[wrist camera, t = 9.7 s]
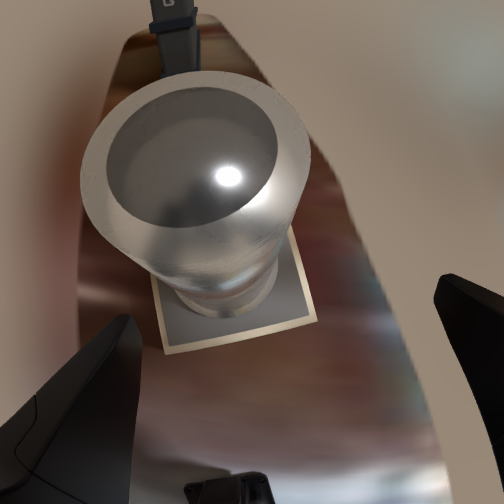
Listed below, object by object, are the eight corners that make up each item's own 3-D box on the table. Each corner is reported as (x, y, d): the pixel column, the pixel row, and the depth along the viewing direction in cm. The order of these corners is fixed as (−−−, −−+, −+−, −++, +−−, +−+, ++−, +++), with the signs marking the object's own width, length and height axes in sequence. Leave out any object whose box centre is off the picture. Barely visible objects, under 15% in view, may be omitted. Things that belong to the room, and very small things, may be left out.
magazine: (162, 112, 24) (140, -36, 13) (176, 78, 33) (163, -23, 22) (202, 105, 24) (186, -45, 13) (204, 74, 33) (195, -28, 22)
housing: (288, 304, 18) (366, 243, 6) (182, 328, 18) (70, 309, 6) (262, 206, 20) (281, 52, 8) (164, 228, 19) (79, 97, 7)
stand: (309, 322, 21) (319, 320, 18) (174, 353, 20) (163, 355, 17) (275, 199, 23) (278, 180, 21) (152, 226, 23) (141, 211, 20)
